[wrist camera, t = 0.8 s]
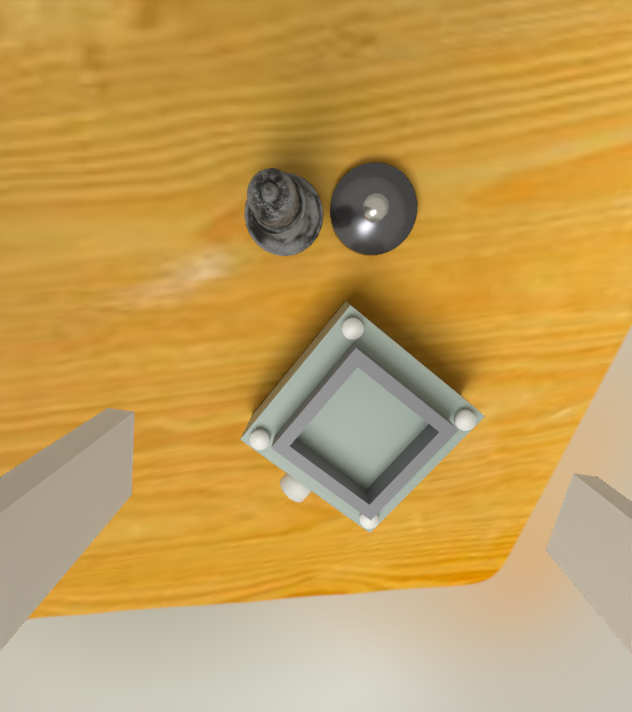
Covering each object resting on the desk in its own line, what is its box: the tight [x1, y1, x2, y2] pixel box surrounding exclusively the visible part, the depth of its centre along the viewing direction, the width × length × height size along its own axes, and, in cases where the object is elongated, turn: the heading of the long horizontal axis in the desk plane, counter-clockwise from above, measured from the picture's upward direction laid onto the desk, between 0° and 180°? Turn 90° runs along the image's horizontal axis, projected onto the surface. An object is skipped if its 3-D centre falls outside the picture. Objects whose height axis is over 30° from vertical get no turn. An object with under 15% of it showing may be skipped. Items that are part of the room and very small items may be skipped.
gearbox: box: [240, 301, 485, 533], centre depth 30 cm, size 14×16×7 cm
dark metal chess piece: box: [245, 168, 323, 256], centre depth 24 cm, size 6×6×12 cm
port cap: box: [330, 162, 417, 255], centre depth 28 cm, size 7×7×2 cm
